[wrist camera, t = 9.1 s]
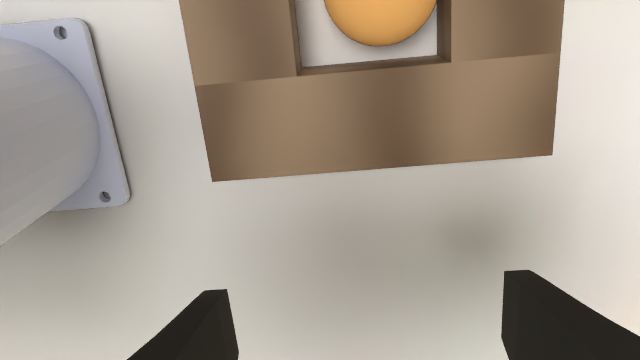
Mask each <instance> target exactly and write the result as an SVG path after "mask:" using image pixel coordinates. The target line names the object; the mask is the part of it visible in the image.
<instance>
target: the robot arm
mask: <svg viewBox="0 0 640 360" xmlns="http://www.w3.org/2000/svg"><path fill="white" fill-rule="evenodd" d="M61 26H62V27H63V28H65V30H66V32H67V37H66V38H65V39H64V38H62V37H61V36H60V34H59V29H60V27H61ZM103 192H107V193H108V194H109V195H110V197H111V199H107V198H105V197H104V195H103ZM129 198H130V191H129V187H128V183H127V179H126V175H125V171H124V167H123V163H122V159H121V155H120V151H119V147H118V143H117V139H116V135H115V131H114V127H113V123H112V119H111V115H110V111H109V107H108V103H107V99H106V95H105V91H104V87H103V83H102V79H101V75H100V72H99V68H98V64H97V60H96V56H95V52H94V48H93V44H92V40H91V36H90V32H89V29H88V26H87V25H86V23H85V22H84V21H82V20H80V19H78V18H67V19H57V20H47V21H37V22H28V23H18V24H8V25H0V246H1V245H3V244H4V243H5V242H7V241H8V240H10V239H11V238H12V237H14V236H15V235H16V234H18V233H19V232H21V231H22V230H23V229H25V228H26V227H27V226H29V225H30V224H31V223H33V222H34V221H36V220H37V219H38V218H40V217H41V216H42V215H44V214H45V213H47V212H49V211H62V210H76V209H89V208H102V207H115V206H121V205H123V204H125V203H126V202H127V201H128V200H129ZM501 338H502V341H503V344H504V347H505V350H506V352H507V355H508V358H509V360H640V336H638V335H636V334H634V333H632V332H631V331H629V330H627V329H625V328H623V327H622V326H620V325H618V324H616V323H614V322H613V321H611V320H609V319H607V318H606V317H604V316H602V315H601V314H599V313H597V312H596V311H594V310H592V309H591V308H589V307H588V306H586V305H584V304H583V303H581V302H580V301H578V300H576V299H575V298H573V297H572V296H570V295H569V294H567V293H565V292H564V291H562V290H561V289H559V288H558V287H556V286H555V285H553V284H551V283H550V282H548V281H547V280H545V279H544V278H542V277H540V276H539V275H537V274H536V273H534V272H532V271H530V270H517V271H504V290H503V312H502V333H501ZM238 354H239V350H238V345H237V340H236V334H235V329H234V324H233V318H232V313H231V308H230V303H229V297H228V292H227V289H221V290H206V291H203V292H202V293H201V294H200V295H199V296H198V297H197V298H195V299H194V300H193V301H192V302H191V303H190V304H189V305H188V306H187V307H186V308H185V309H184V310H183V311H182V312H181V313H180V314H178V315H177V316H176V317H175V318H174V319H173V320H172V321H171V322H170V323H169V324H168V325H167V326H166V327H164V328H163V329H162V330H161V331H160V332H159V333H158V334H157V335H156V336H155V337H153V338H152V339H151V340H150V341H149V342H147V343H146V344H145V345H144V346H143V347H142V348H140V349H139V350H138V351H137V352H136V353H134V354H133V355H132V356H131V357H130V358H128V359H127V360H238Z"/></svg>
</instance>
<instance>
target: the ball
mask: <svg viewBox="0 0 640 360" xmlns="http://www.w3.org/2000/svg"><path fill="white" fill-rule="evenodd" d="M436 1H437V0H324V2H325V6H326V9H327V11H328V14H329V16H330V17H331V19H332V21H333V22H334V24H335V25H336V26H337V27H338V29H339V30H340V31H341V32H342V33H344V34H345V35H346V36H348V37H349V38H351V39H353V40H354V41H357V42H359V43H362V44H365V45H370V46H387V45H392V44H395V43H398V42H400V41H403V40H405V39H407V38H408V37H410V36H411V35H413V34H414V33H415V32H416V31H418V30H419V29H420V28H421V27H422V25H423V24H424V23H425V22H426V21H427V19H428V18H429V16H430V15H431V13H432V11H433V9H434V6H435V4H436Z"/></svg>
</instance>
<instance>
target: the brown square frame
mask: <svg viewBox="0 0 640 360" xmlns="http://www.w3.org/2000/svg"><path fill="white" fill-rule="evenodd" d="M564 1H565V0H437V55H433V56H422V57H411V58H400V59H389V60H379V61H368V62H357V63H346V64H335V65H324V66H313V67H302V68H301V60H300V50H299V41H298V31H297V22H296V12H295V3H294V0H179V4H180V9H181V15H182V20H183V25H184V31H185V36H186V42H187V47H188V53H189V58H190V63H191V69H192V74H193V80H194V85H195V91H196V96H197V102H198V107H199V112H200V118H201V123H202V129H203V134H204V140H205V145H206V150H207V156H208V161H209V167H210V172H211V178H212V182H216V181H229V180H241V179H254V178H267V177H280V176H293V175H305V174H318V173H331V172H344V171H356V170H369V169H382V168H395V167H408V166H420V165H433V164H446V163H459V162H472V161H484V160H497V159H510V158H523V157H535V156H548V155H552V153H553V140H554V128H555V115H556V102H557V90H558V77H559V64H560V52H561V39H562V26H563V14H564Z"/></svg>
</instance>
